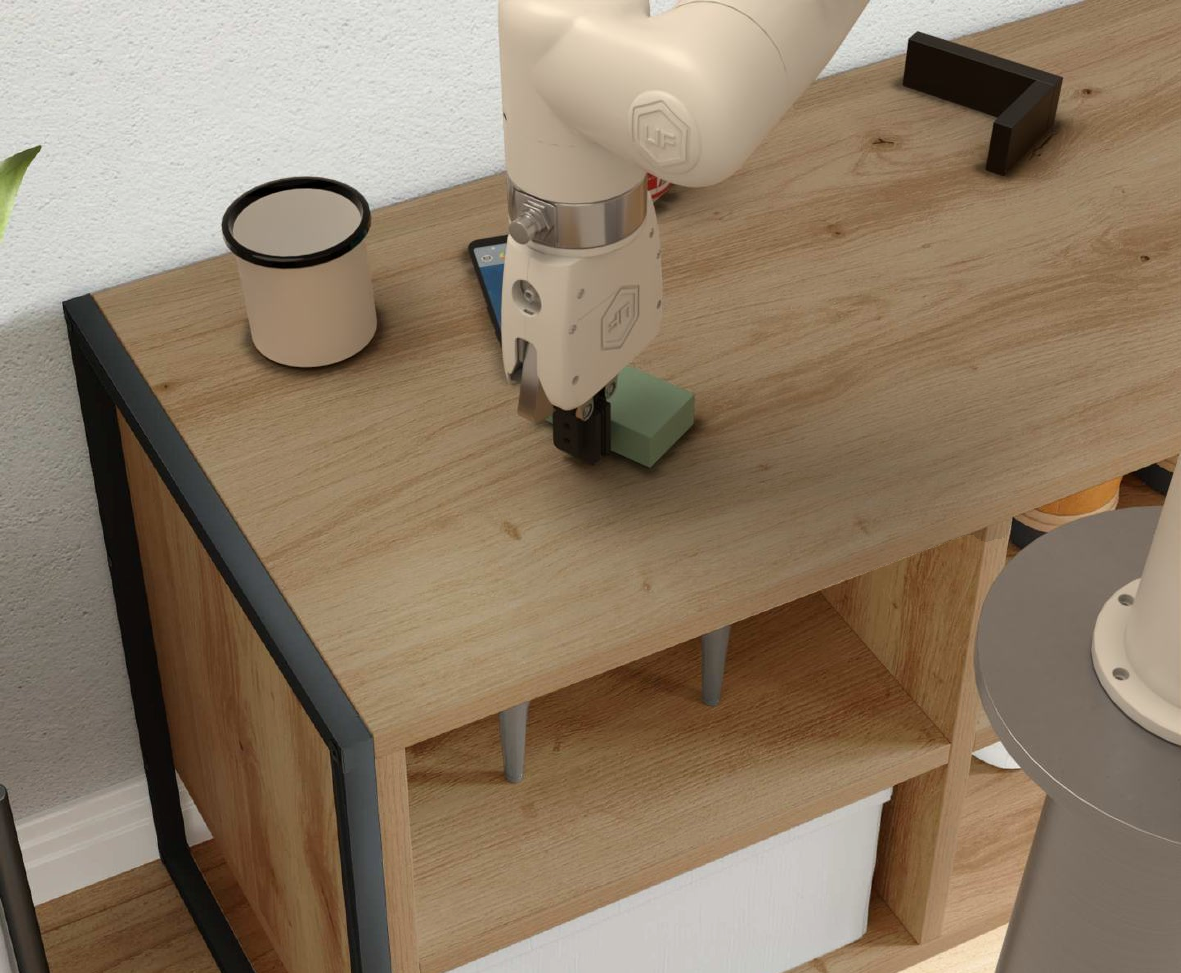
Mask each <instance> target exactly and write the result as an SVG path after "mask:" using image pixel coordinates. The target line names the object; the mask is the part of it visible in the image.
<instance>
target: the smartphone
mask: <svg viewBox="0 0 1181 973" xmlns="http://www.w3.org/2000/svg"><path fill="white" fill-rule="evenodd" d="M508 236H509V234H503V235H497V236H496V235H495V236H489V237H483V238H477V239H474V240H473V241H471V242H469V243H468V246H467V251H468V254H469V256H470V260H471V262H472V265H473V269H474V272H475V275H476V278H477V281H478V284H479V286H480V289H481V292H482V295H483V298H484V301H485V303H486V309H487V310H486V311H487V312H488V313H487V314H488V315H489V318H490V321H491V324H493V328H494V332H495V337H496V338H497V339H496V340H497V342H498V343H499V345H500V348H501V350H502V333H501V309H502V287H503V273H504V263H505V255H506V247H507V239H508Z"/></svg>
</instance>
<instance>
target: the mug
mask: <svg viewBox="0 0 1181 973" xmlns="http://www.w3.org/2000/svg"><path fill="white" fill-rule="evenodd" d="M371 212H372V211H371V209H370V204H369V202H368V200H367V199H366V198H365V196H364V195H363V194H362V193H361V192H360V191H358V190H357V189H356V188H355V187H353V186H351V185H349V184H347V183H344V182H342V181H339V180H336V179H333V178H332V179H331V178H328V177H323V176H321V177H320V176H313V175H305V176H304V175H302V176H290V177H284V178H283V177H281V178H277V179H274V180H271V181H270V180H269V181H267V182H264V183H262V184H259V185H257V186H254V187H253V188H251V189H249V190H247V191H245V192H243V193H242V194H240V196H238V197H237V198H235V199H234V200H233V201H231V203H230V205H229V206H228V207H227V208H226V210H225V212H224V214H223V216H222V218H221V224H220V225H221V226H220V227H221V236H222V240H223V242H224V244H225V246H226V248H228V250H229V251H230V252H231V253H233V254H234V255H235V259H236V263H237V270H238V274H239V278H240V284H241V289H242V290H241V291H242V294H243V300H244V304H245V309H246V314H247V319H248V323H249V330H250V334H251V339H252V342H253V344H254V346H255V348H256V349H257V350H258V351H259V353H260V354H262V355H263V356H264V357H266V358H267V359H269V360H271V361H273V362H275V363H279V364H282V365H285V366H289V367H297V368H298V367H299V368H312V367H313V368H314V367H315V368H316V367H322V366H328V365H332V364H335V363H339V362H342V361H344V360H346V359H348V358H350V357H352V356H354V355H356V354H357V353H359V352H361V351H362V350H363V349H364V348H365V347H366V346H367V345H368V344H369V343H370V342H371V341H372V339H373V338H374V336H375V334H376V331H377V325H378V319H377V312H376V305H375V299H374V298H375V296H374V290H373V282H372V274H371V269H370V261H369V260H370V259H369V253H368V245H367V239H366V237H367V235H368V233H369V231H370V229H371V227H372V221H373V220H372V218H373V217H372V213H371Z"/></svg>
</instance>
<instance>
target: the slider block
mask: <svg viewBox="0 0 1181 973" xmlns="http://www.w3.org/2000/svg"><path fill="white" fill-rule="evenodd" d="M695 400H696V393H694V392H692V391H690V390H688V389H685V388H683V387H680V386H678V385H676V384H673V383H671V382H669V381H666V380H664V379H661V378H659V377H657V376H654V375H652V374H650V373H647V372H645V371H643V370H641V369H638V368H636V367H633V366H631V365H629V364H628V365H627V366H626V367H625V368H624V369H623V370H621V371H620V372H619V373H618V379H617V388H616V391H615V393H614V395H613V396H612V397H611V398H610V399H607V401H608V402H610V403H611V450H610V451H612V452H614V453H616V454H619V455H620V456H623V457H625V458H627V459H630V460H631V461H634V462H635V463H637V464H638V463H639V464H640V465H643V466H644V467H647V468H649V469H650V468H652V467H653V466H654V465H655V464H656V463H657V462H658V461H659V460H660V459H661V458H662V457H663V456H664V454H666V453H667V452H668V451H669V450H670V449H671V448H672V447H673V446H674V445H675V444H676V442H678V440H679V439H680V438H681V437H682V436H683V435H685V433H686V432H688V430H689V429H691V428H692V426H693V425H694V424H695V404H696V403H695V402H696V401H695ZM544 421H545V422H547V423H549V424H552V425H553V418H552V415H551V416H549V417H548V418H546V419H544Z"/></svg>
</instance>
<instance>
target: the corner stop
mask: <svg viewBox="0 0 1181 973" xmlns="http://www.w3.org/2000/svg"><path fill="white" fill-rule="evenodd" d="M902 77H903V78H902V86H905V87H907V88H910V89H913V90H917V91H919V92H923V93H925V94H928V95H932V96H934V97H937V98H941V99H943V100H946V101H949V102H952V103H954V104H958V105H960V106H961V105H962V106H965V107H967V108H969V109H973V110H977V111H978V112H981V113H986V114H988V115H992V116H994V117H997V118H995V119H994V121H993V123H992V131H991V134H990V140H989V146H988V153H987V158H986V164H985V170H987V171H988V172H992V173H995V174H998V175H1000V176H1005V175H1006V174H1007V173H1008V172H1009V171H1010V169H1012V168H1013V166H1014V165H1016V164H1017V163H1018V162H1019V161H1020V159H1022V157H1024V155H1025V154H1026V153H1028V151H1030V150H1031V149H1032V147H1034V145H1035V144H1036V143H1037V142H1038V141H1039V140H1040V139H1041V138H1042V137H1043V136H1045V134H1046V133H1047V132H1048V131H1049V130H1050V129H1051V128H1052V127H1053V126H1054V125H1055V121H1056V116H1057V111H1058V106H1059V101H1060V96H1061V91H1062V88H1063V87H1062V86H1063V82H1064V76H1061V75H1058V74H1054V73H1052V72H1048V71H1045V70H1041V69H1038V68H1035V67H1032V66H1030V65H1026V64H1023V63H1021V62H1017V61H1013V60H1011V59H1007V58H1005V57H1001V56H998V55H996V54H995V55H994V54H991V53H989V52H985V51H982V50H979V49H976V48H972V47H969V46H966V45H964V44H960V43H957V42H954V41H951V40H948V39H944V38H941V37H938V36H936V35H931V34H928V33H925V32H922V31H919V30H916V32H914V33H913V34H912V35H911V36H909V38H908V39H907V46H906V52H905V62H904V69H903V76H902Z"/></svg>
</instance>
